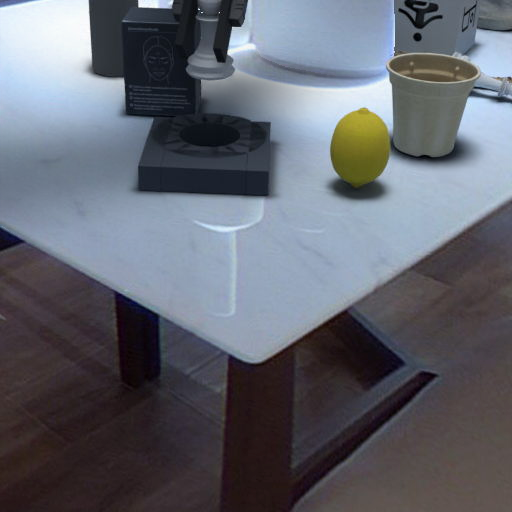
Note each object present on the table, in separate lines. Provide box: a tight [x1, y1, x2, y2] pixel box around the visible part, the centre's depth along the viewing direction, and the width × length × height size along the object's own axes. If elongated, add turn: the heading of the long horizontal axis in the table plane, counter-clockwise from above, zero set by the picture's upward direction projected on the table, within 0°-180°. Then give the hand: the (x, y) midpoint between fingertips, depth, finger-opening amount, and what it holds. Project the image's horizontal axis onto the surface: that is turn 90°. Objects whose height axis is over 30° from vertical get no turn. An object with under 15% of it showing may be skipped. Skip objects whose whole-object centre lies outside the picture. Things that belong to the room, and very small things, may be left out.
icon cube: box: [394, 0, 481, 56], centre depth 126 cm, size 10×10×10 cm
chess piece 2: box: [453, 52, 512, 98], centre depth 113 cm, size 4×4×10 cm
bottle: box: [88, 0, 140, 77], centre depth 114 cm, size 6×6×15 cm
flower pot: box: [385, 53, 482, 158], centre depth 98 cm, size 9×9×9 cm
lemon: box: [329, 107, 391, 189], centre depth 89 cm, size 6×6×8 cm
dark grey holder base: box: [137, 112, 272, 196], centre depth 94 cm, size 12×14×2 cm
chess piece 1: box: [186, 0, 236, 81], centre depth 90 cm, size 5×5×8 cm
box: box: [122, 6, 203, 117], centre depth 105 cm, size 8×6×11 cm
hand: (200, 53), depth 87 cm, fingers closed on chess piece 1, 3 cm apart
